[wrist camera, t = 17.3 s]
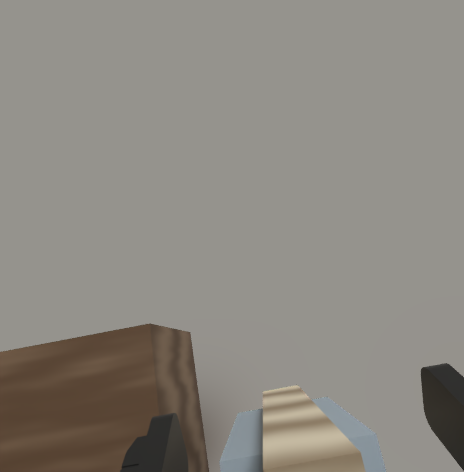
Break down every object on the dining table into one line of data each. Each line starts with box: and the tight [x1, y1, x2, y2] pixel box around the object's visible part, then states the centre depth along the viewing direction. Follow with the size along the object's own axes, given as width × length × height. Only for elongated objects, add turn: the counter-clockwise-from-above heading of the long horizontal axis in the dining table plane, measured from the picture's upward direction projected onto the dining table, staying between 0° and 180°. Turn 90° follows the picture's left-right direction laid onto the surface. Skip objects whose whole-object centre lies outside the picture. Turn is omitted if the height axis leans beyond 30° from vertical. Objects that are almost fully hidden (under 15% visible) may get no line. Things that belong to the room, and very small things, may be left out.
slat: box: [263, 385, 366, 472], centre depth 24 cm, size 24×4×2 cm, turn 175°
